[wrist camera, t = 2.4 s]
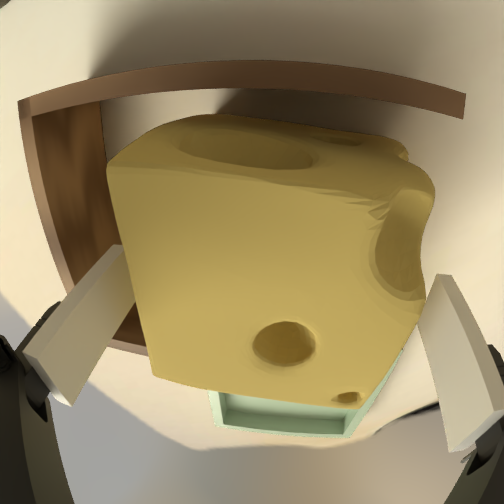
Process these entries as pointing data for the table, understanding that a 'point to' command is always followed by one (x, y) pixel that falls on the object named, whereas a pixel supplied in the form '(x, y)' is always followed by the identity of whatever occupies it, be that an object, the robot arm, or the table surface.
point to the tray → (288, 415)
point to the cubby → (152, 81)
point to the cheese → (272, 255)
